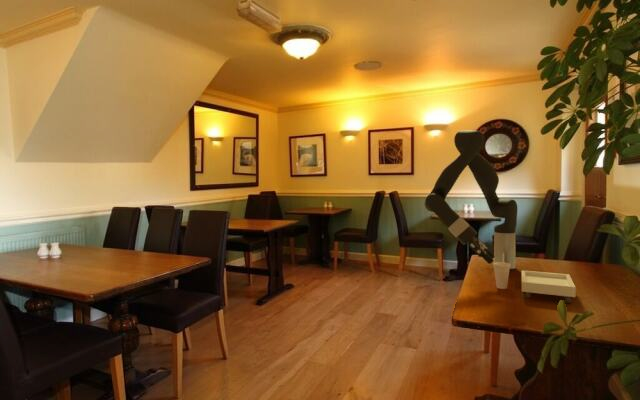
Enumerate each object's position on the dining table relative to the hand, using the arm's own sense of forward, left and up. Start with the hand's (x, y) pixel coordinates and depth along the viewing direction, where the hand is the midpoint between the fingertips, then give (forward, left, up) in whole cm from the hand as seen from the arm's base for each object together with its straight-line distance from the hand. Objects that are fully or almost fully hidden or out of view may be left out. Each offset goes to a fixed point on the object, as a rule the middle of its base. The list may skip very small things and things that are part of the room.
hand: (492, 260), depth 149 cm
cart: (+4, +18, -11) cm, 22 cm away
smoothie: (0, +3, -11) cm, 11 cm away
